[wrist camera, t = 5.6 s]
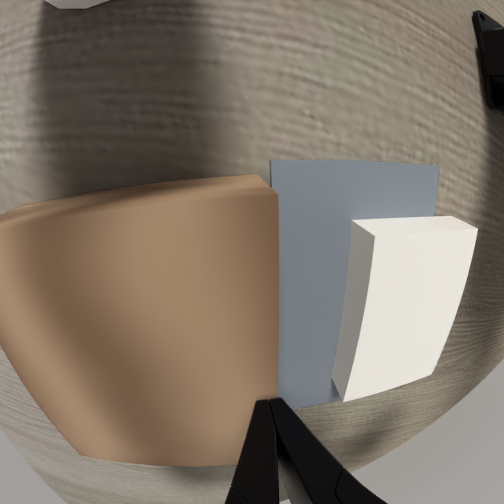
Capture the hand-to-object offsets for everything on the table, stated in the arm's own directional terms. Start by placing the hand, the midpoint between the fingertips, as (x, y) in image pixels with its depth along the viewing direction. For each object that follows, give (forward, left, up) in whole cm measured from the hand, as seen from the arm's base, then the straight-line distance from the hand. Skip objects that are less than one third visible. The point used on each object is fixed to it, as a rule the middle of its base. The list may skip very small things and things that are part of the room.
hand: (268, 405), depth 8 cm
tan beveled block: (+5, 0, -5) cm, 7 cm away
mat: (-5, 0, -5) cm, 7 cm away
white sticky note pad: (-7, 0, -3) cm, 8 cm away
